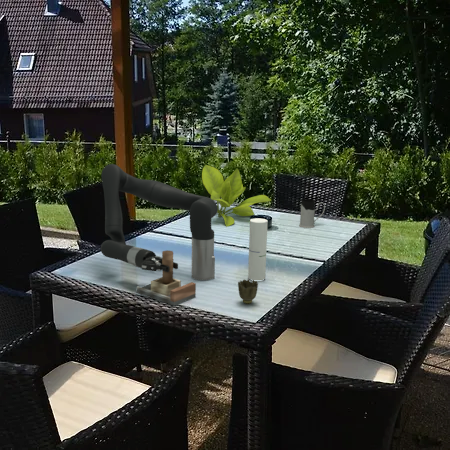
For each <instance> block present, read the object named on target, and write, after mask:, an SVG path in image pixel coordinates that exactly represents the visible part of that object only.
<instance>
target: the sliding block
mask: <svg viewBox="0 0 450 450" xmlns="http://www.w3.org/2000/svg"><path fill="white" fill-rule="evenodd" d="M181 282H182V281H181V280H180V279H176V278H174V277H173V282H172V283H170V284H167V285H165V284H162V276H161V277H158V278H157V279H154V280H151V281H150V284H151V291H154V292H157V293H159V294H162V295H165V296H168V295H170V290H173V289H176V288H178V287H181V286H182V283H181Z"/></svg>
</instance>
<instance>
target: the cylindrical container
mask: <svg viewBox="0 0 450 450" xmlns="http://www.w3.org/2000/svg"><path fill="white" fill-rule="evenodd" d="M248 236H249V238H248V239H249V241H248V265H247V267H248V269H247V270H248V272H247V279H248V278H249V279H252V280H263V279H265V280H266V270H267V269H266V268H267V266H266V265H267V249H268V248H267V246H268V245H267V243H268V220H267V219H265V218H258V217H257V218H256V217H255V218H250V220H249V235H248ZM249 279H248V280H249Z"/></svg>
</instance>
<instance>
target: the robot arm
mask: <svg viewBox="0 0 450 450" xmlns="http://www.w3.org/2000/svg"><path fill="white" fill-rule="evenodd" d="M101 171H102V172H101V183H102V188H103V196H104V197H103V198H104V210H105V212H104V213H105V215H104V216H105V217H104V219H105V221H104V231H105V235H107V236H108V237H110V239H107V240H105V241H103V242H102V243H101V244H100V245H101V246H100V252H101V254H102V255H103V256H104V257H106V258H109V259H114V260H117V261H118V260H119V261H121V262H124V263H126V264H129V265H132V266H133V267H137V268H140V269H141V270H144V271H148V272H149V271H150V272H157V271H159V272H160V271H161V272H162V271H165V272H169V271H170V267H169V266H167V265H163V264H162V256H160V255H156V253H155V252H154V251H153V250H149V249H146V248H142V247H137V246H133V245H130V244H126V240H125V236H124V235H125V234H124V231H123V213H122V212H123V211H122V206H121V201H120V196H119V195H120V194H119V193H120V192H122V193H126V194H130V195H132V196H135V197H138V198H140V199H142V200H144V201H147V202H149V203H152V204H154V205H157V206H159V207H160V206H161V207H165V208H170V209H171V208H172V209H180V210H181V209H182V210H186V211H188V212H189V230H190V233H191V278H192V279H193V280H195V281H209V280H213V279H215V278H216V277H215V273H216V271H215V270H216V269H215V268H216V256H215V230H213V229H212V219H213V218H214V217H215V216H216V215H218V213H217V211H218V207H217V202H215V200H212V199H211V197H207V196H203V195H198V194H194V193H191V192H188V191H185V190H182V189H179V188H177V187H175V186H171V185H169V184H167V183H163V182H161V181H158V180H153V179H142V178H137V177H135V176H133V175H131V174H129V173H127V172H125V171H124V170H123V169H122V168H121V167H120V166H118V165H117V164H114V163H109V164H106V165H105V166H104V167H103V169H102V170H101ZM178 269H179V264H178V263H177V262H175V261H174V258H173V270H178Z"/></svg>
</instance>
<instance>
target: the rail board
mask: <svg viewBox="0 0 450 450" xmlns="http://www.w3.org/2000/svg"><path fill="white" fill-rule="evenodd" d="M196 285H197V283H195V282H192V281H191V282H189V283H185V284H183V285H181V287H178V288H176V289H173V290H170V295H168V296H165V295H162V294H159V293H157V292H154V291H151V283H149V284H146V285H144V286H139V285H138V286H136V294H139V295H143V296H146V297H148V298H150V299H154V300H156V301H159V302H162V303H164V302H165V303H164V304H167V303H168V305H170V306H174V307H176V306H178V305H181V304H182V303H185V302H187V301H189V300H192V299H194V298H196V295H197V294H196V293H197V292H196V289H197V286H196ZM175 305H176V306H175Z"/></svg>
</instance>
